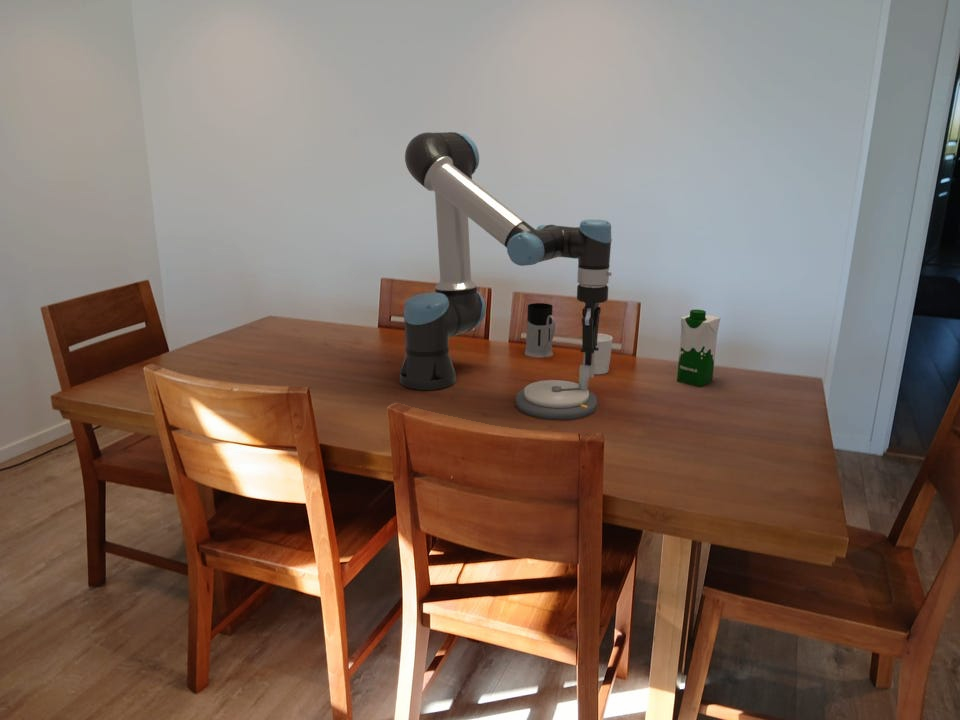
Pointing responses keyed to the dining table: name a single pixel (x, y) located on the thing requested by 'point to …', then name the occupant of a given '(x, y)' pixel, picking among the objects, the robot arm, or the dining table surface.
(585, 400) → the cream crank wheel
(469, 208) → the robot arm
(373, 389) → the dining table surface
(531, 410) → the stand base
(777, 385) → the dining table surface
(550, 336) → the glass holder
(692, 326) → the milk carton
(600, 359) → the white cup
